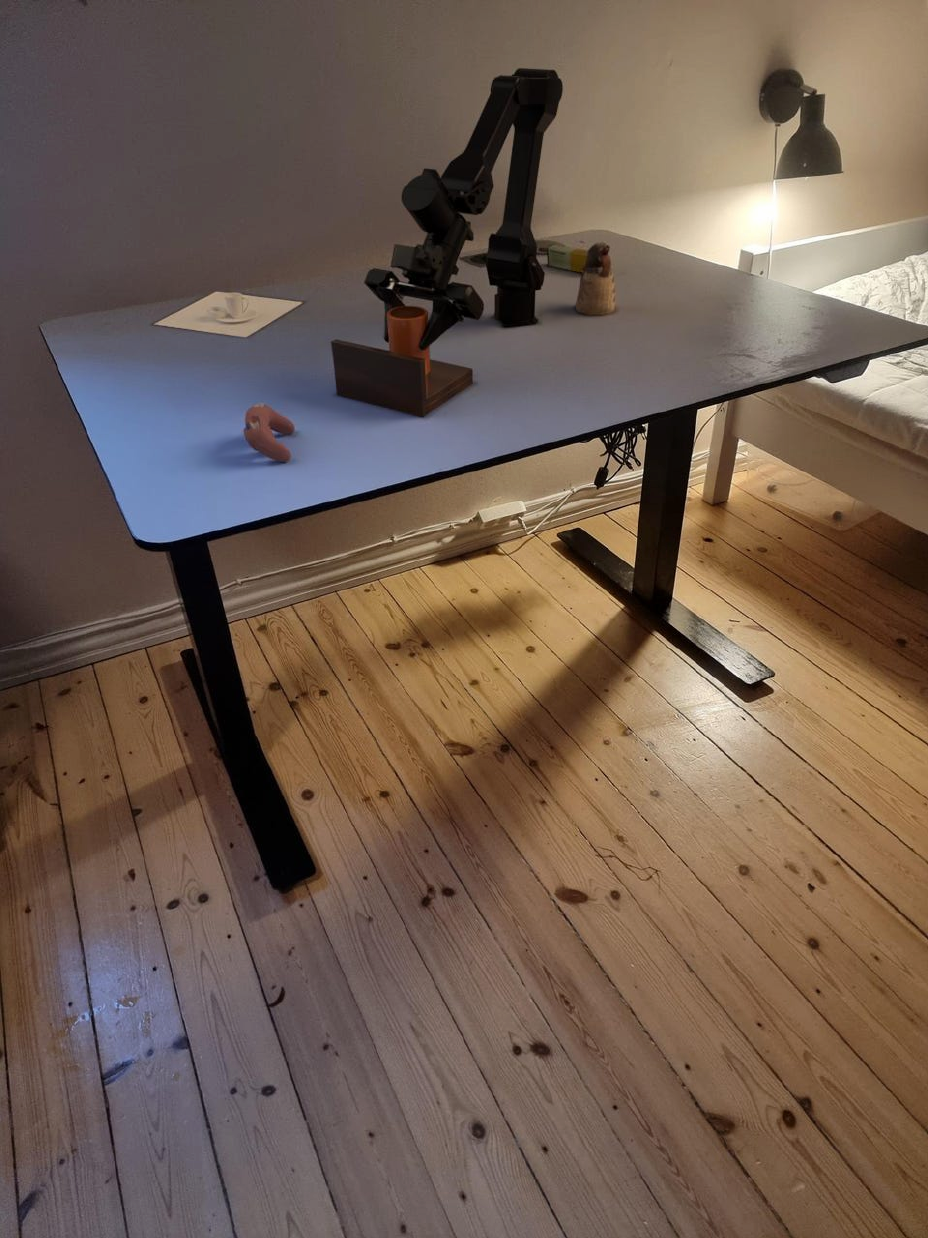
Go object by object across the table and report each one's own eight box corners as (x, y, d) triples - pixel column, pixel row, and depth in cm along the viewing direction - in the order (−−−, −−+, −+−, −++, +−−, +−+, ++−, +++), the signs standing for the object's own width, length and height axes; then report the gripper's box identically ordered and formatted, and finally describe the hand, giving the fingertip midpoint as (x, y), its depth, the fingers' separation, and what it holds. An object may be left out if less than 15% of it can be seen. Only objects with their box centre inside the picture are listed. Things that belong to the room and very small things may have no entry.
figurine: (604, 301, 170) (609, 235, 162) (621, 312, 164) (627, 245, 157) (570, 305, 168) (573, 239, 161) (586, 317, 163) (590, 249, 155)
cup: (424, 360, 141) (421, 303, 135) (435, 375, 136) (433, 316, 131) (386, 366, 140) (382, 308, 134) (396, 380, 135) (392, 321, 129)
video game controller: (271, 442, 128) (242, 403, 124) (298, 427, 127) (269, 387, 123) (265, 475, 120) (233, 434, 116) (293, 460, 119) (262, 418, 115)
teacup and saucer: (202, 321, 164) (198, 298, 162) (227, 307, 170) (223, 285, 168) (242, 326, 162) (239, 304, 159) (266, 312, 168) (263, 290, 165)
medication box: (546, 266, 188) (545, 246, 186) (554, 262, 190) (553, 242, 187) (593, 275, 182) (593, 255, 179) (601, 270, 183) (601, 251, 180)
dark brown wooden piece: (390, 364, 147) (386, 312, 141) (473, 383, 140) (472, 330, 135) (336, 395, 137) (330, 341, 132) (422, 417, 130) (420, 361, 125)
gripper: (366, 211, 132) (327, 308, 131) (473, 227, 124) (433, 330, 123) (399, 253, 142) (364, 343, 141) (501, 270, 134) (463, 365, 133)
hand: (403, 345), depth 134 cm, fingers closed on cup, 6 cm apart
